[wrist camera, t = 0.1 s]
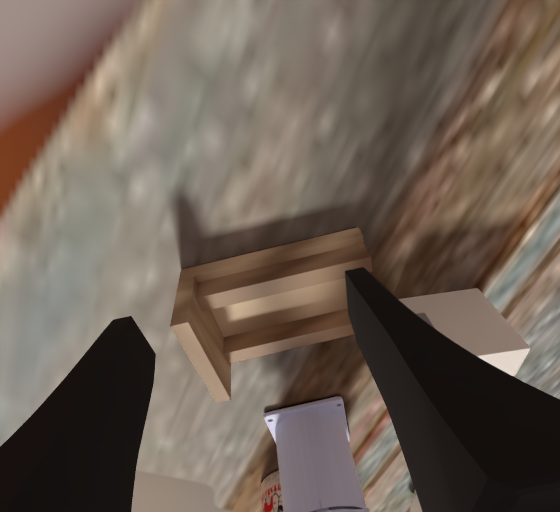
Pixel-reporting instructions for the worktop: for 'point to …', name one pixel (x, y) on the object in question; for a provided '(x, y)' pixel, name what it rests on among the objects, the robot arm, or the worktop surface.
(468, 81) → the worktop surface
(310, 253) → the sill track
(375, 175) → the worktop surface
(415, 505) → the lidded bowl
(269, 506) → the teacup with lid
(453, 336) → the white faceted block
